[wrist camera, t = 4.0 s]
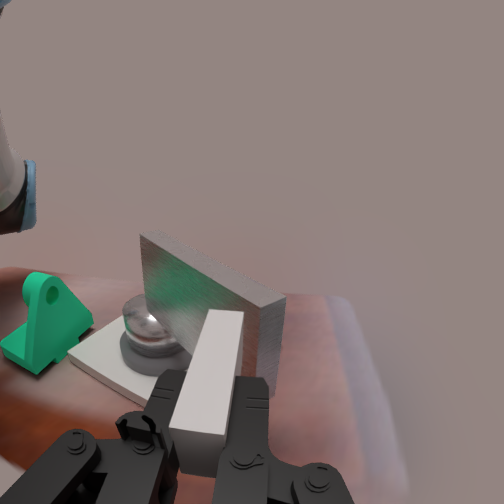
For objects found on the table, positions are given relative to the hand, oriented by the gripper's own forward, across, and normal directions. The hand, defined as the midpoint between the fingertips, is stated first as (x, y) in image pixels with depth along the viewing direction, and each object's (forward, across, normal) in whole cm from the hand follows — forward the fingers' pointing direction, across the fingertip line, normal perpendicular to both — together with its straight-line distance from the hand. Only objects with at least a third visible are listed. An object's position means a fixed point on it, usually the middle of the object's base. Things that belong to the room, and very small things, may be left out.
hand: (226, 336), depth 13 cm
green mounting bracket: (+13, -25, -15) cm, 32 cm away
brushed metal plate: (+10, -5, -11) cm, 16 cm away
